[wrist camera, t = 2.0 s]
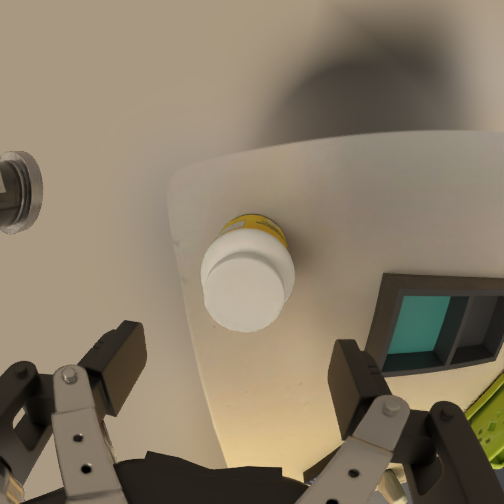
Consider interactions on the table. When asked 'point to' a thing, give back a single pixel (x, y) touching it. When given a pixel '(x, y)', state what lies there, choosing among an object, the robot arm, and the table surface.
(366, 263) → the table surface
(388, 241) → the table surface
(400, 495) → the cream tall rounded block
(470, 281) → the dark grey divided tray
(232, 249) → the pill bottle
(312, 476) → the multiport hub
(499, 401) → the flower pot
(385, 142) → the table surface
